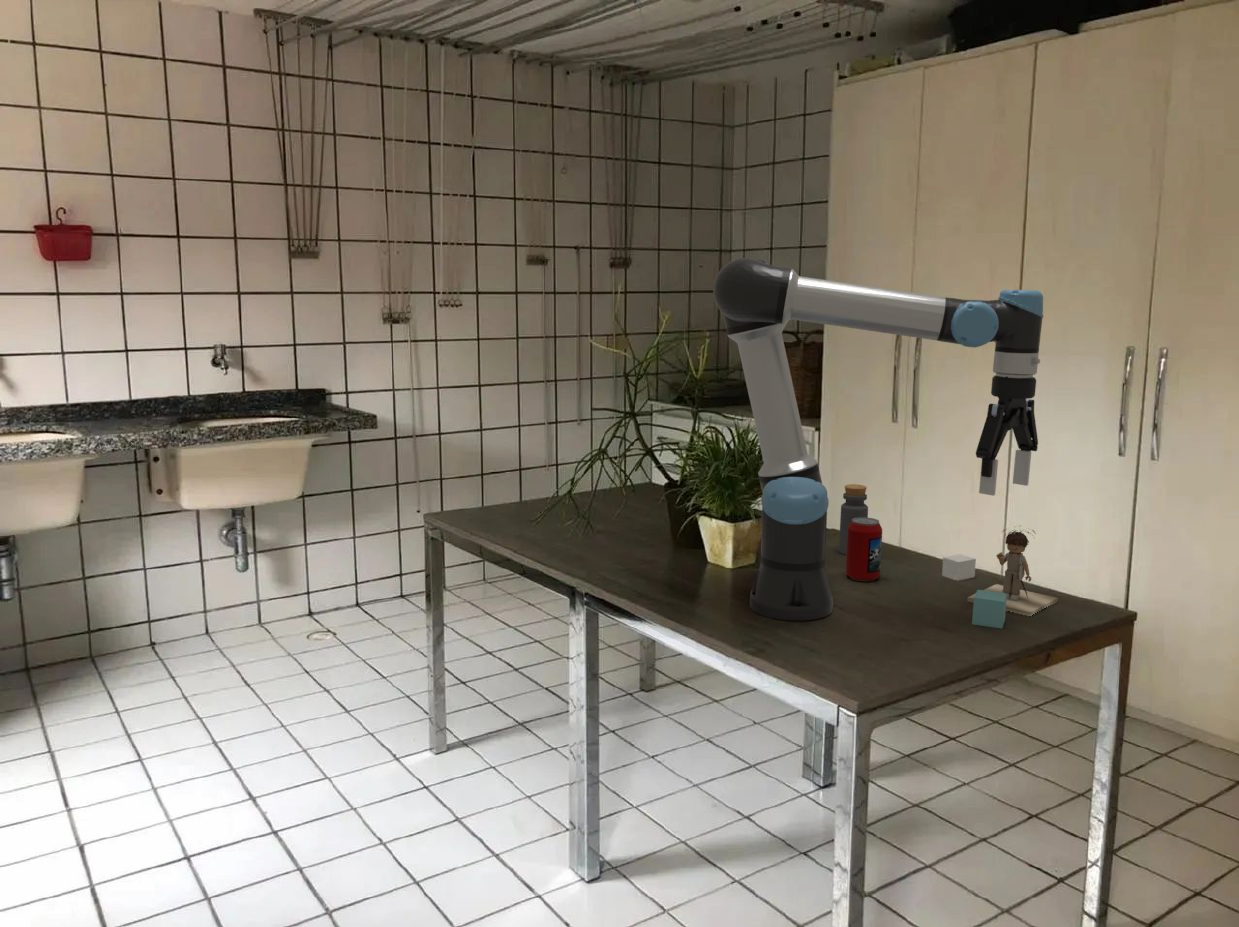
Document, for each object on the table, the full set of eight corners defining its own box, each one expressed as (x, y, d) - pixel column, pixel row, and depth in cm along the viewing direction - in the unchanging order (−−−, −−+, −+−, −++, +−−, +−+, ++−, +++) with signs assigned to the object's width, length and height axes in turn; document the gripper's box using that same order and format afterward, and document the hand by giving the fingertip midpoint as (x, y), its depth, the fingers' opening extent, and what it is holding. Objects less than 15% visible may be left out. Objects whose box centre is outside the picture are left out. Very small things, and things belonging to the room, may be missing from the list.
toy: (991, 598, 187) (999, 522, 184) (996, 590, 192) (1004, 515, 189) (1026, 605, 184) (1035, 527, 181) (1031, 596, 189) (1039, 520, 186)
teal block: (1002, 629, 174) (1004, 601, 173) (971, 624, 176) (973, 597, 175) (1004, 620, 179) (1007, 593, 178) (975, 616, 181) (977, 589, 180)
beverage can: (880, 583, 199) (883, 525, 197) (846, 581, 201) (848, 523, 198) (878, 574, 206) (882, 517, 204) (845, 572, 207) (848, 515, 205)
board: (1030, 616, 180) (1030, 612, 180) (967, 601, 189) (967, 597, 188) (1057, 602, 188) (1057, 597, 188) (996, 587, 197) (996, 584, 197)
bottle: (863, 549, 225) (867, 483, 222) (867, 556, 219) (871, 489, 216) (837, 548, 225) (840, 483, 222) (840, 555, 219) (843, 488, 217)
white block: (957, 581, 202) (958, 562, 201) (941, 576, 205) (943, 557, 204) (974, 577, 204) (975, 558, 203) (959, 572, 207) (960, 554, 207)
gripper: (1003, 381, 171) (992, 502, 175) (1063, 373, 188) (1052, 483, 192) (962, 377, 177) (952, 494, 180) (1024, 370, 194) (1014, 477, 198)
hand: (1004, 489), depth 186 cm, fingers open, 13 cm apart
